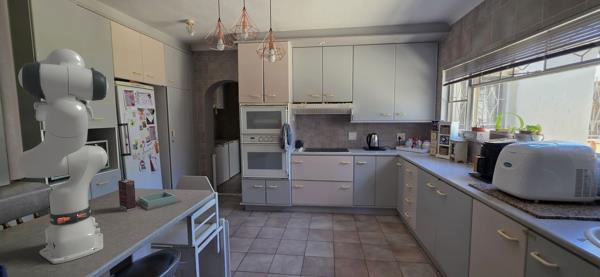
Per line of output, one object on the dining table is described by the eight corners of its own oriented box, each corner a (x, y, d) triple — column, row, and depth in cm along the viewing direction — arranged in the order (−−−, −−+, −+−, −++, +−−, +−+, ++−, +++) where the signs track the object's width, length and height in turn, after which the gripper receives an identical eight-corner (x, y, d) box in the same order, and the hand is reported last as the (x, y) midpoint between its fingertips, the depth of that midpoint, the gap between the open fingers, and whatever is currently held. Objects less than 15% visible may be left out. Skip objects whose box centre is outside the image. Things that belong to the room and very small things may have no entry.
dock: (181, 202, 152) (180, 196, 152) (147, 210, 139) (147, 203, 138) (166, 195, 167) (165, 189, 166) (134, 202, 153) (134, 196, 153)
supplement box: (136, 208, 142) (134, 180, 141) (127, 211, 138) (125, 182, 137) (129, 206, 146) (127, 178, 145) (119, 208, 142) (117, 180, 141)
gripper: (33, 99, 111) (36, 131, 112) (93, 101, 126) (95, 129, 127) (32, 100, 115) (35, 131, 116) (90, 102, 130) (92, 129, 131)
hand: (67, 130), depth 122 cm, fingers open, 8 cm apart
